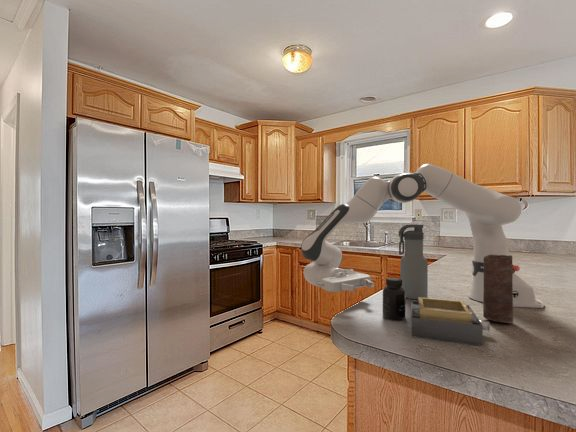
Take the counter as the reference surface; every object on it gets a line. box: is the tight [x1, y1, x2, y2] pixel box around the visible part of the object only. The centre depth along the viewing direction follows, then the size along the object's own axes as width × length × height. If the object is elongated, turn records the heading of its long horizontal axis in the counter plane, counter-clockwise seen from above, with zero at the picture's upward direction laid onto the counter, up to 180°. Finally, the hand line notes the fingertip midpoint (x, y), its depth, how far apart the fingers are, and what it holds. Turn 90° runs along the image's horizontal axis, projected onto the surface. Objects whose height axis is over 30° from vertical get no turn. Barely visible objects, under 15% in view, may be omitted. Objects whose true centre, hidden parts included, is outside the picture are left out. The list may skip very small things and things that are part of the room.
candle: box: [482, 255, 514, 324], centre depth 92 cm, size 8×7×20 cm
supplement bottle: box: [382, 277, 407, 322], centre depth 96 cm, size 7×7×12 cm
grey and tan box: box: [410, 297, 491, 347], centre depth 85 cm, size 19×16×7 cm
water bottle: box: [398, 223, 429, 301], centre depth 120 cm, size 10×10×28 cm
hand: (363, 286), depth 106 cm, fingers open, 8 cm apart
